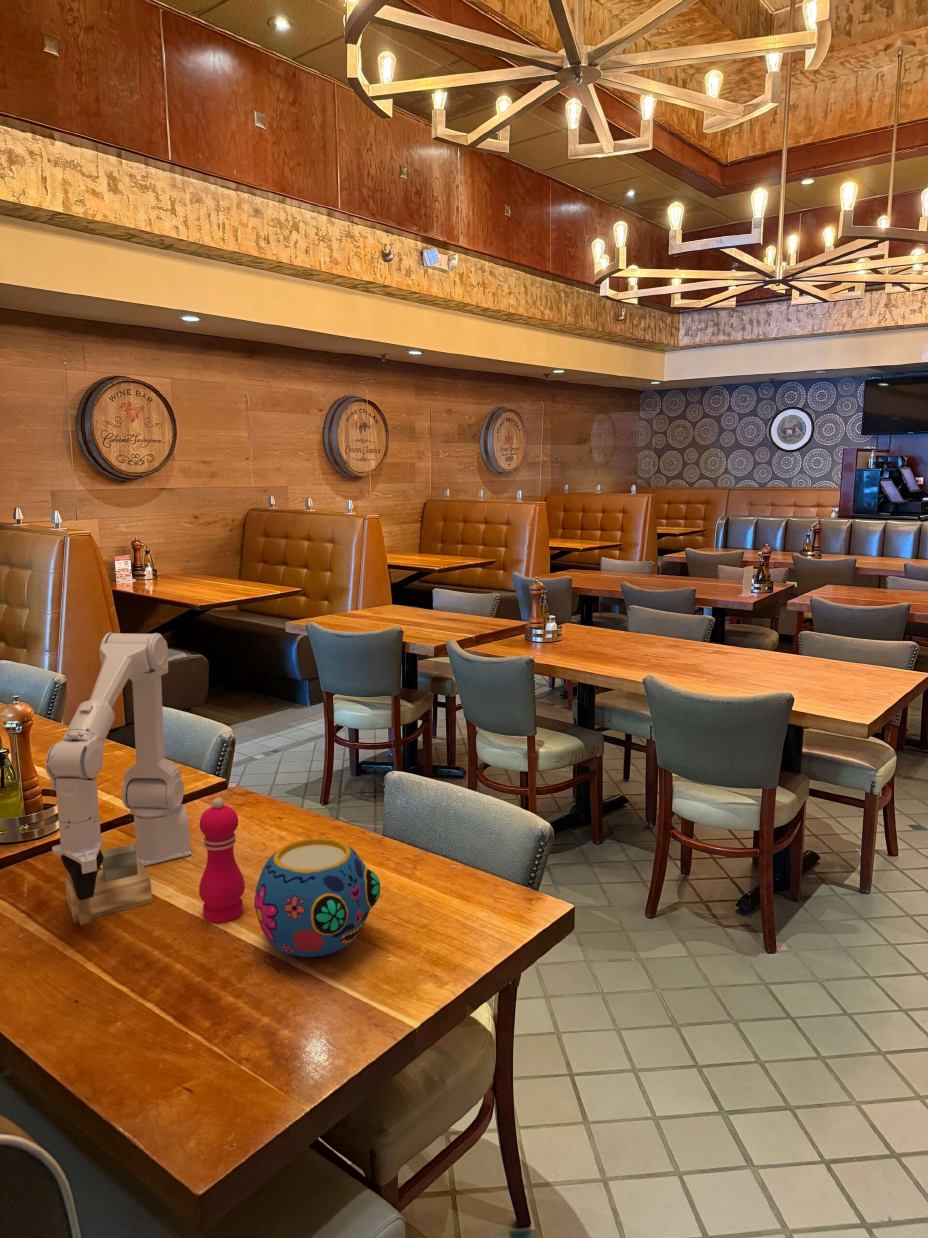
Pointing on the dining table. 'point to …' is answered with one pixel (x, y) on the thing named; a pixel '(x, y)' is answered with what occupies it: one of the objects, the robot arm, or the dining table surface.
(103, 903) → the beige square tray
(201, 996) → the dining table surface
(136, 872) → the lid
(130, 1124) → the dining table surface
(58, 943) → the dining table surface
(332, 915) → the ceramic pot
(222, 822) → the pepper mill
